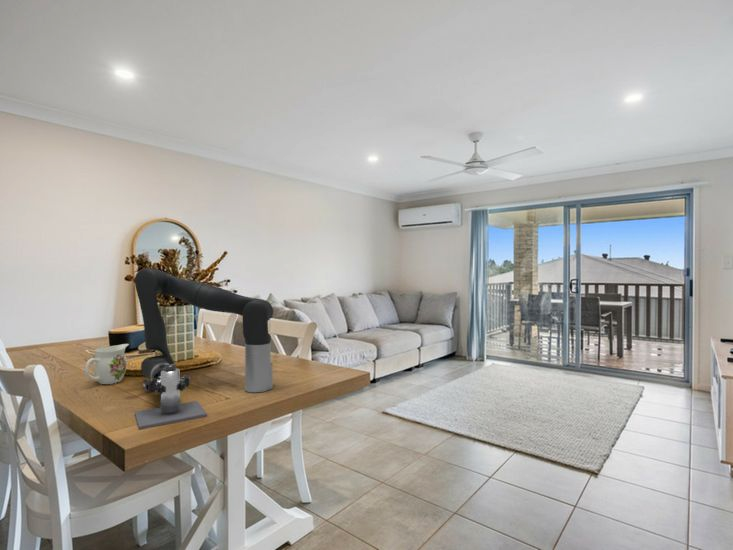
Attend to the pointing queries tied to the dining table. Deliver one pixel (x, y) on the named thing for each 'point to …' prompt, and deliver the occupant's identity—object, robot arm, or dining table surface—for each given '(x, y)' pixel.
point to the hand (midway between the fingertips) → (171, 388)
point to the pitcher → (108, 364)
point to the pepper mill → (170, 389)
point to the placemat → (169, 415)
